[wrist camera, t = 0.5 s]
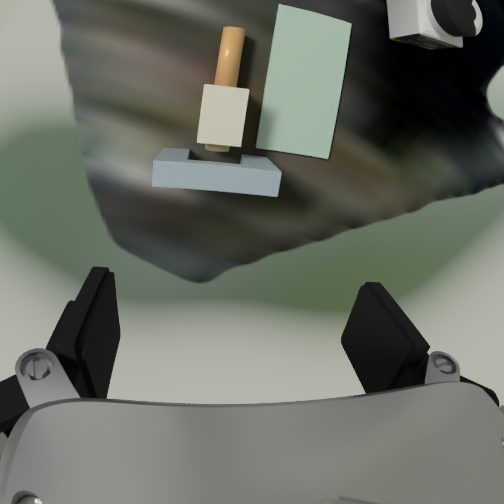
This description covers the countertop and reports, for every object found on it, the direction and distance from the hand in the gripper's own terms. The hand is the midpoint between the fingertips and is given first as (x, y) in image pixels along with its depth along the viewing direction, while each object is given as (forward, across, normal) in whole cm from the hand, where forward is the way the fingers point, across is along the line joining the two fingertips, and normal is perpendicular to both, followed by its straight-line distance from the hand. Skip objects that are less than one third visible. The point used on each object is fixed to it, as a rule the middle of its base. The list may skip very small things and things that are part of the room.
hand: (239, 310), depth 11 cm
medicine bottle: (+28, -22, -24) cm, 43 cm away
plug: (+28, 0, -9) cm, 29 cm away
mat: (+28, -9, -11) cm, 31 cm away
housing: (+28, 0, 0) cm, 28 cm away
